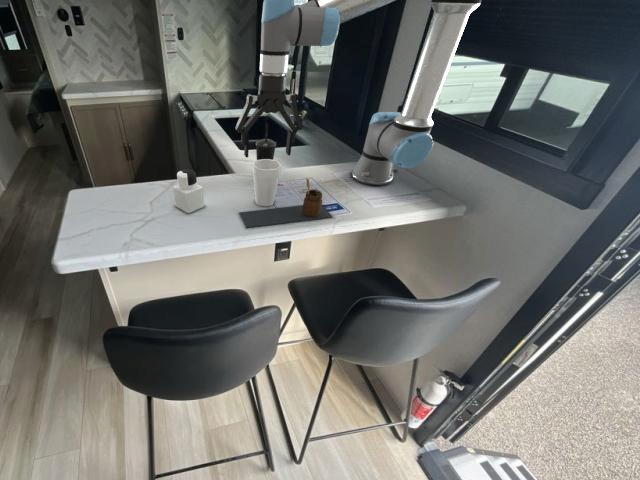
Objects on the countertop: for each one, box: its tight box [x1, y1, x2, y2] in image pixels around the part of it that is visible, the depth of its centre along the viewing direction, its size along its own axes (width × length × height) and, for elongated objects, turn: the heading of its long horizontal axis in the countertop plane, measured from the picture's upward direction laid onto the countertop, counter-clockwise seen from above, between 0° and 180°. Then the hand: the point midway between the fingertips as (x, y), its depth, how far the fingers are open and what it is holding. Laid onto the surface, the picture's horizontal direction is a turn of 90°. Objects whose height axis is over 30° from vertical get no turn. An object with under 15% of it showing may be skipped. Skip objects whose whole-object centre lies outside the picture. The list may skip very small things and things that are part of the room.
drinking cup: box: [255, 123, 277, 161], centre depth 119 cm, size 8×8×20 cm
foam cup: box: [251, 159, 283, 207], centre depth 108 cm, size 10×9×13 cm
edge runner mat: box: [238, 204, 333, 229], centre depth 106 cm, size 29×10×1 cm, turn 104°
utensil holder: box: [302, 177, 326, 217], centre depth 102 cm, size 6×6×12 cm
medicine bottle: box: [172, 168, 205, 214], centre depth 106 cm, size 7×7×12 cm
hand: (267, 155), depth 102 cm, fingers open, 13 cm apart
